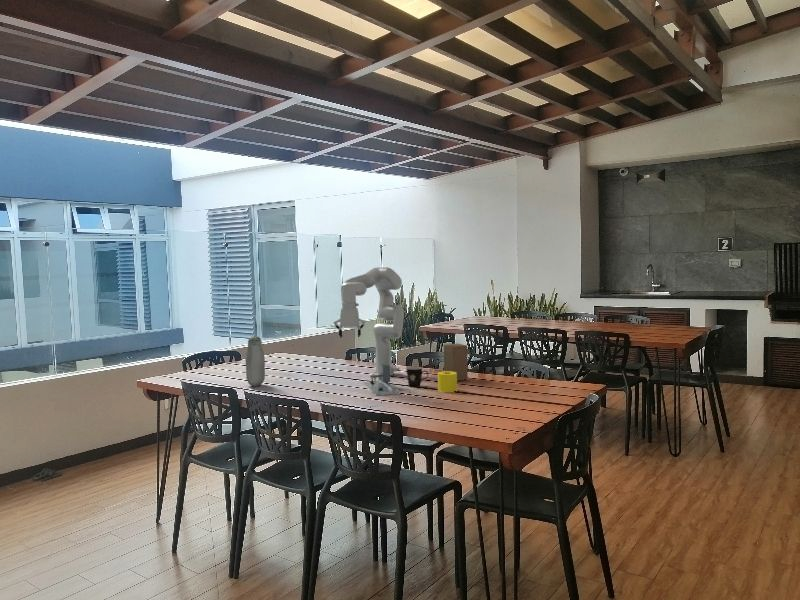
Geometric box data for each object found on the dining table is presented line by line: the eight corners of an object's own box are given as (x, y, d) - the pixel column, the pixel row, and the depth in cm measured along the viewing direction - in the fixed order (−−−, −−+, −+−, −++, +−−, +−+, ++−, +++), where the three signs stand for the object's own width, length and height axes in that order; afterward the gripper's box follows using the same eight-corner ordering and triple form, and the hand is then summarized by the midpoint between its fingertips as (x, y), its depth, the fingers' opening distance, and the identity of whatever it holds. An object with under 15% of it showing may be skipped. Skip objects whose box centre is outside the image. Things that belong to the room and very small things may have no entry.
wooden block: (467, 380, 348) (467, 345, 347) (452, 381, 344) (452, 346, 342) (458, 377, 357) (458, 343, 356) (444, 378, 353) (443, 344, 351)
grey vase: (260, 387, 338) (259, 337, 336) (243, 387, 340) (241, 337, 338) (268, 384, 347) (266, 335, 345) (251, 383, 349) (249, 335, 348)
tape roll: (436, 389, 326) (436, 371, 325) (455, 388, 327) (454, 371, 326) (439, 393, 316) (439, 375, 315) (458, 392, 317) (458, 374, 316)
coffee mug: (403, 386, 334) (403, 368, 334) (413, 383, 341) (413, 366, 340) (419, 389, 326) (419, 370, 326) (429, 386, 333) (429, 368, 332)
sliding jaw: (387, 380, 335) (387, 364, 335) (390, 382, 331) (389, 365, 330) (372, 382, 333) (371, 365, 332) (374, 383, 328) (373, 366, 327)
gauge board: (384, 382, 345) (384, 372, 344) (399, 393, 316) (398, 382, 316) (363, 384, 342) (363, 373, 341) (376, 395, 313) (376, 384, 312)
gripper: (365, 304, 335) (366, 335, 336) (333, 305, 335) (334, 336, 336) (364, 306, 328) (365, 337, 329) (332, 306, 328) (333, 338, 329)
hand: (350, 336), depth 333 cm, fingers open, 9 cm apart
